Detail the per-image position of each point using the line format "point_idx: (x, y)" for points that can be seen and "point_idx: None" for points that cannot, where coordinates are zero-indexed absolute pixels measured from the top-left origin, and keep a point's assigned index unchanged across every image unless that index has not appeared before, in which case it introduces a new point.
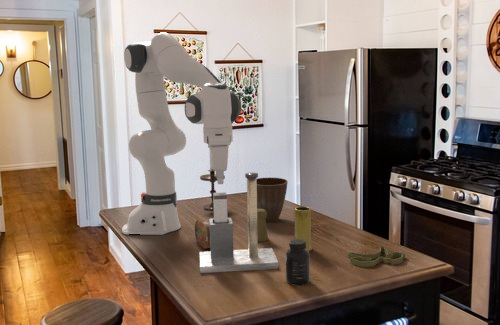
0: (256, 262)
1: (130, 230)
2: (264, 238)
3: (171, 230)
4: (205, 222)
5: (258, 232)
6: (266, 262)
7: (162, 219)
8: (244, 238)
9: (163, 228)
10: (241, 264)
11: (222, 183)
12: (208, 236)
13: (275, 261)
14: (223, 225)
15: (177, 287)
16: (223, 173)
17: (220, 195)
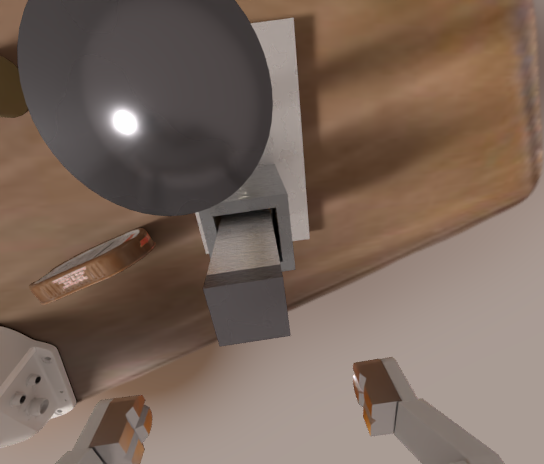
0: (290, 96)
1: (59, 404)
2: (9, 67)
3: (21, 336)
4: (67, 279)
5: (1, 89)
6: (292, 62)
7: (14, 378)
8: (13, 143)
9: (31, 356)
10: (302, 140)
11: (392, 362)
12: (146, 251)
13: (284, 28)
14: (290, 224)
15: (376, 261)
16: (497, 455)
17: (286, 307)
